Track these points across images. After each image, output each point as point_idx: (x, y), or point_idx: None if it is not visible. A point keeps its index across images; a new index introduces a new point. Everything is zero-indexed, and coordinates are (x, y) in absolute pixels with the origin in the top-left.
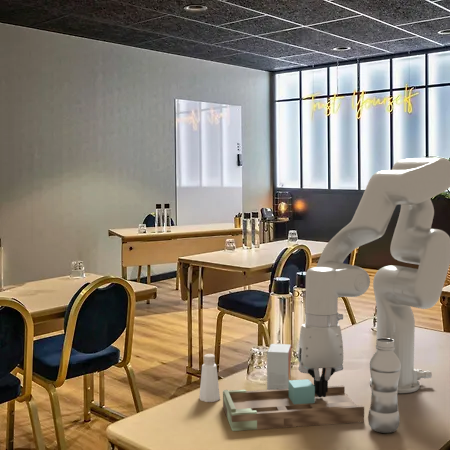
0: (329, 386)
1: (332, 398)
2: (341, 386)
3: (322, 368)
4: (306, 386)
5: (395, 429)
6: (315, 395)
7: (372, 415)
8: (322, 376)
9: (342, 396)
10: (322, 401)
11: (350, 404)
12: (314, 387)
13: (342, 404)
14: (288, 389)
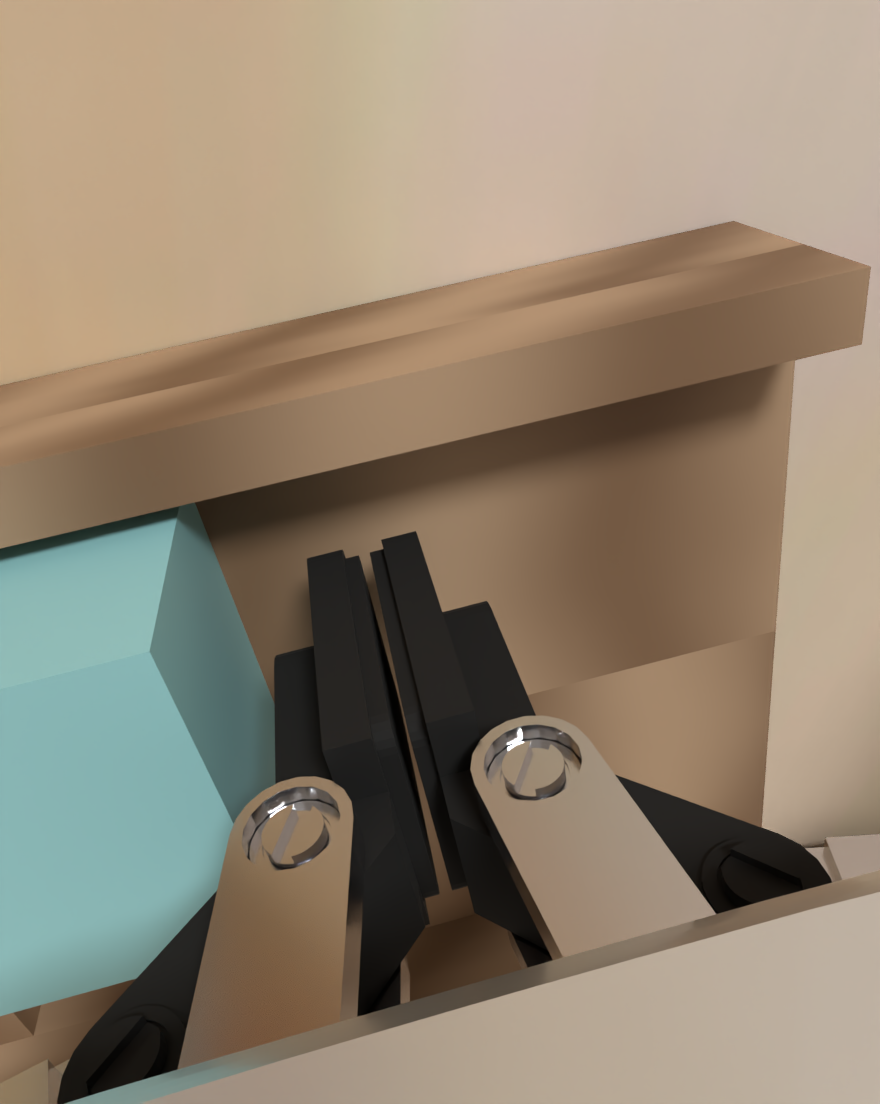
0: (596, 347)
1: (548, 562)
2: (813, 337)
3: (540, 920)
4: (138, 962)
5: None
6: (305, 476)
7: None
8: (474, 881)
9: (708, 480)
10: (393, 674)
11: (712, 705)
12: None
13: (622, 719)
14: None
